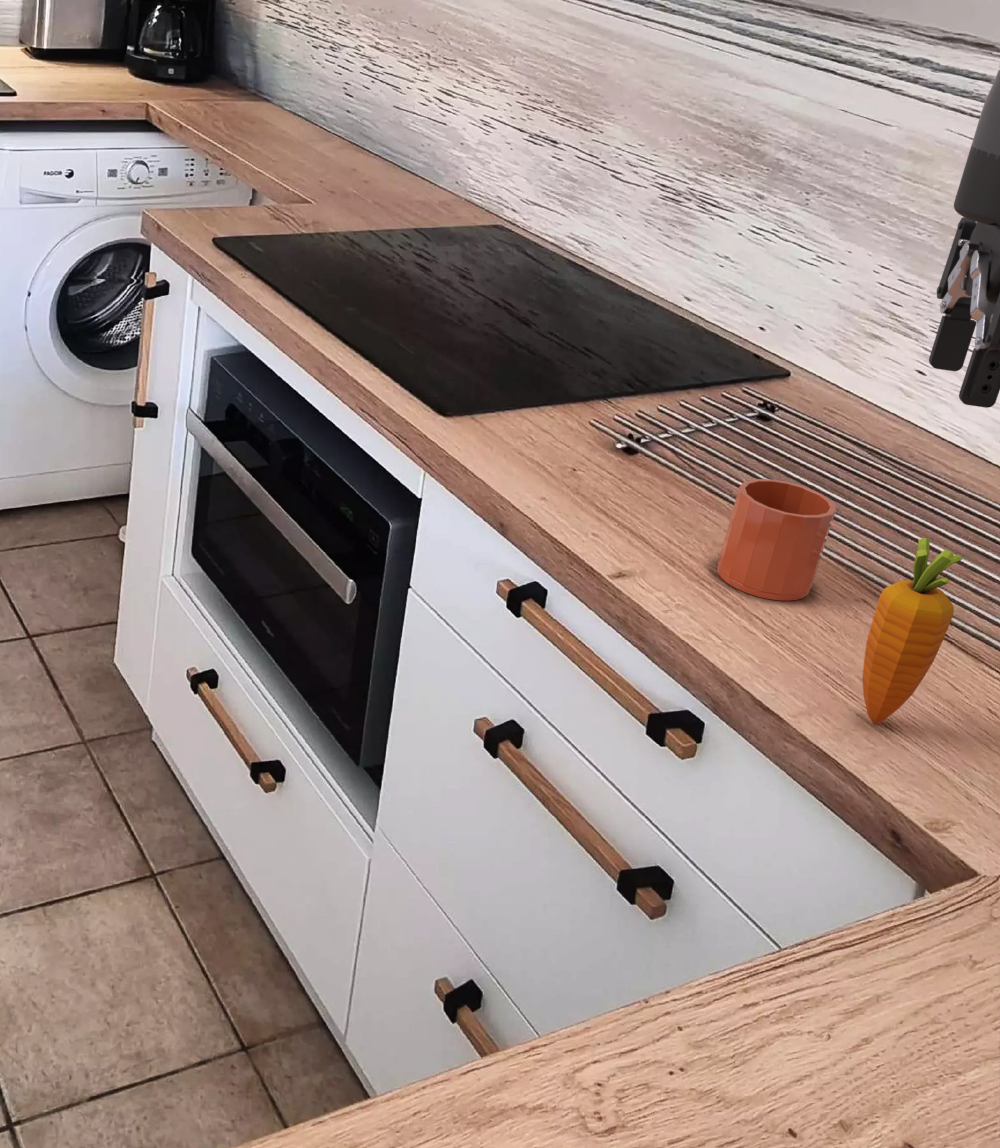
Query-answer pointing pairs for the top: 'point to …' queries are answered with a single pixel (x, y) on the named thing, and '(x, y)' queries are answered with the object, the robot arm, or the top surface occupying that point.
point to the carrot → (906, 634)
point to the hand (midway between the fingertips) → (958, 386)
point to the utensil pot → (775, 539)
